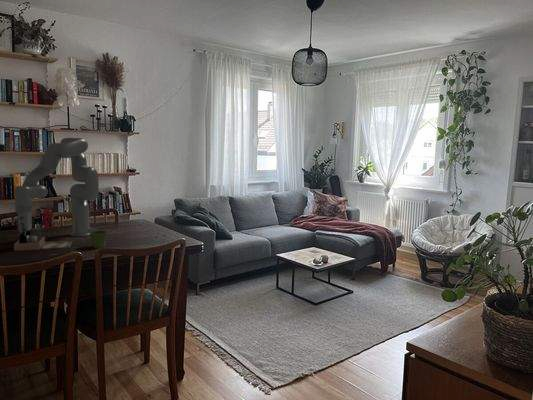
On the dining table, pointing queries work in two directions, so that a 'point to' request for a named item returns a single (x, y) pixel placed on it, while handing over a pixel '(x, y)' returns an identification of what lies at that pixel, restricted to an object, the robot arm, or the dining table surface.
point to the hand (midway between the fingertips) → (25, 240)
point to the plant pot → (98, 238)
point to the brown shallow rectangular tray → (30, 245)
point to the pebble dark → (32, 239)
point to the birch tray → (56, 245)
